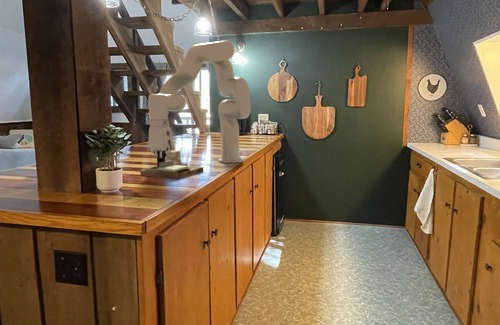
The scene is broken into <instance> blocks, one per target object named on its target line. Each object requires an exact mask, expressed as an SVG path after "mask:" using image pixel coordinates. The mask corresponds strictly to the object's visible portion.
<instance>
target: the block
mask: <svg viewBox="0 0 500 325" xmlns="http://www.w3.org/2000/svg"><path fill="white" fill-rule="evenodd" d="M181 154H182V153H181V150H175V149H174V150H172V151H171V153H170V154H167V155H166V161H170V160H172V163H173V165H181V163H182V158H181V157H182V156H181Z"/></svg>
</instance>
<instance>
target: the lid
mask: <svg viewBox="0 0 500 325" xmlns="http://www.w3.org/2000/svg"><path fill="white" fill-rule="evenodd" d="M188 166H189V165H188ZM188 166H182V165H173V163H172V160H170V161H165V162H160V163H159V168H157V169H158V170H163V171H172V172H175V171H179V170H183V169H186V168H188Z"/></svg>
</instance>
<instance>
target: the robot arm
mask: <svg viewBox="0 0 500 325" xmlns="http://www.w3.org/2000/svg"><path fill="white" fill-rule="evenodd" d="M234 54H235V47H234V45H233V43H232V42H231V41H229V40H225V39H224V40H220V41H213V42H206V43H205V42H204V43H198V44H194V45H191V46H190V47H189V48H188V50H187V52H186V54H185V55H184V58H183V60H182V61H181V63H180V66H179V68H178V69H177V71H176V72H175V73H173V74H172V75H171V76H170V77H169V78H168V79H166V81H165V82H164V83H163V85H162V87H161V88H160V89H159V92H158V93H152V94H149V95H148V97H147V99H148V114H149V129H148V147H149V150H150V153H151V154H154V156H155V158H156V166H157V167H159V163H160V162H165V157H166V155H167V154H170V153H171V150H172V149H173V144H174V140H172V139H173V135H172V130H171V126H170V127H168V125H170V121H169V113H168V112H179V111H182V110H183V109H184V108H185V107H186V104H187V100H186V98H185V97H184V95H182V94H180V93H178V92H179V91H180V90H182V89H183V88H185V87H188V86H190V84H192V83H194V82H195V81H196V79H197V77H198V75H199V73H200V71H201V69H202V67H203V65H205V64H211V65H213V68H214V69H215V72H216V73H215V74H216V82H217V88H218V92H219V95H220V96H221V97H223V98H234V99H224V100H221V101H220V103H218V107H217V113H218V117H219V122H220V123H219V124H220V125H219V126H220V152H221V153H220V156H221V157H220V158H218V159H217V160H218V162H219V163H223V164H235V163H241V162H243V158H242V157H241V156H243V155H244V153H243V152H242V151H240V125H239V123H238V120H243V119H244V120H245V119H247V118H248V117H249V116H250V114H251V111H252V110H251V98H250V88H249V84H248V82H247V80H246V79H245V78H243V77H241V76H235V74H234V68H233V65H232V63H231V61H230V59H232V58H233V56H234Z"/></svg>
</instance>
